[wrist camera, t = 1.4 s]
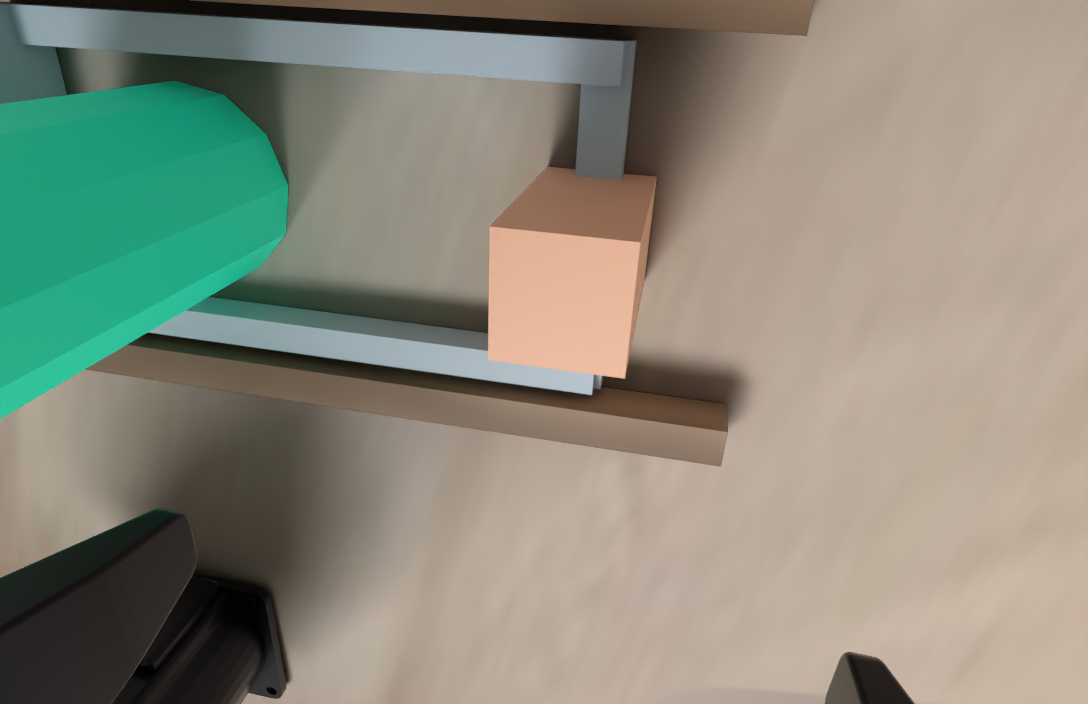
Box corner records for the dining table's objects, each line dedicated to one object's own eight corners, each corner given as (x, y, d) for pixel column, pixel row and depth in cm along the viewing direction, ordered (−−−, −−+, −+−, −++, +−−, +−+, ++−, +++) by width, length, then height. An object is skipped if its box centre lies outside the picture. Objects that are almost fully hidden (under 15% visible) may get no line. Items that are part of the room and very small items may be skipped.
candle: (315, 148, 20) (-104, 299, 10) (260, 308, 23) (-111, 560, 12) (131, 40, 20) (-513, 73, 9) (97, 215, 23) (-424, 395, 12)
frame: (632, 381, 21) (610, 502, 16) (90, 306, 24) (-78, 388, 19) (673, 42, 17) (661, 56, 12) (8, 2, 20) (-238, -1, 15)
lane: (719, 436, 22) (721, 466, 20) (29, 335, 26) (-9, 354, 24) (808, -24, 16) (819, -27, 15) (-98, -64, 20) (-160, -70, 18)
